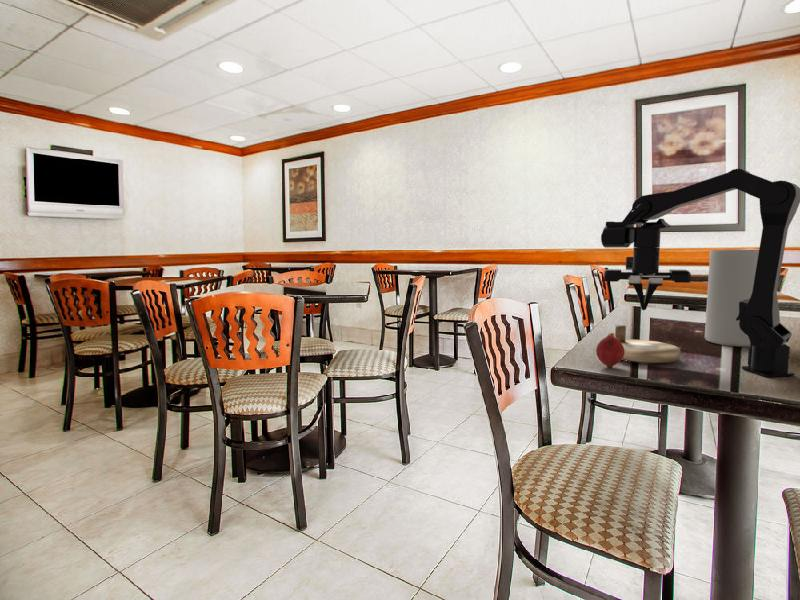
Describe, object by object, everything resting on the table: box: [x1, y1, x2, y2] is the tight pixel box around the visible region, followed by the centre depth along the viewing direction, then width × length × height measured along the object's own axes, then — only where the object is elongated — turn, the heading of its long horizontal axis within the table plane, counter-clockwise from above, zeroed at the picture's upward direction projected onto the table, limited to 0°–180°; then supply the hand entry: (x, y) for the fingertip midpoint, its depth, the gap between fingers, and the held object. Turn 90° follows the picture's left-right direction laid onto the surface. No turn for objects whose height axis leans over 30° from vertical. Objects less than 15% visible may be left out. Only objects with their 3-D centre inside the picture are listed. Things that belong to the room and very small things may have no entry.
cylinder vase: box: [704, 249, 759, 348], centre depth 124 cm, size 12×12×25 cm
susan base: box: [622, 359, 668, 365], centre depth 112 cm, size 12×12×1 cm
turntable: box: [614, 324, 681, 363], centre depth 111 cm, size 16×16×6 cm
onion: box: [595, 332, 624, 368], centre depth 103 cm, size 6×6×8 cm
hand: (643, 310), depth 115 cm, fingers closed
